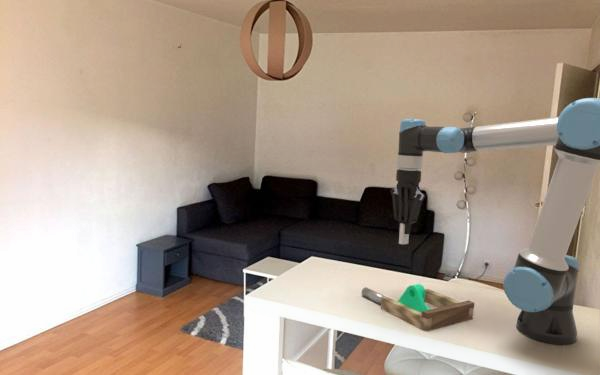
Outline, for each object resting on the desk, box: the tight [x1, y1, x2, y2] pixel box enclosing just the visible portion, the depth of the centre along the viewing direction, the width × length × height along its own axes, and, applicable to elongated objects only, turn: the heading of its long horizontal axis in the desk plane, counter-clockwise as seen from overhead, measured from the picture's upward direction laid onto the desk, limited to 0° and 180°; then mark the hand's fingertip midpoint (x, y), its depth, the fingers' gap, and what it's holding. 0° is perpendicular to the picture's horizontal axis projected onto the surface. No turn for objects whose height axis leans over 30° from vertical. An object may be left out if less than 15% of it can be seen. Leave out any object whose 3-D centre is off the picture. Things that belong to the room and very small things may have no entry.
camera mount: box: [397, 283, 432, 313], centre depth 140 cm, size 12×8×10 cm, turn 33°
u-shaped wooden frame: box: [380, 288, 475, 332], centre depth 144 cm, size 18×20×5 cm
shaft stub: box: [361, 287, 387, 306], centre depth 153 cm, size 10×3×3 cm, turn 33°
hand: (403, 243), depth 152 cm, fingers closed
